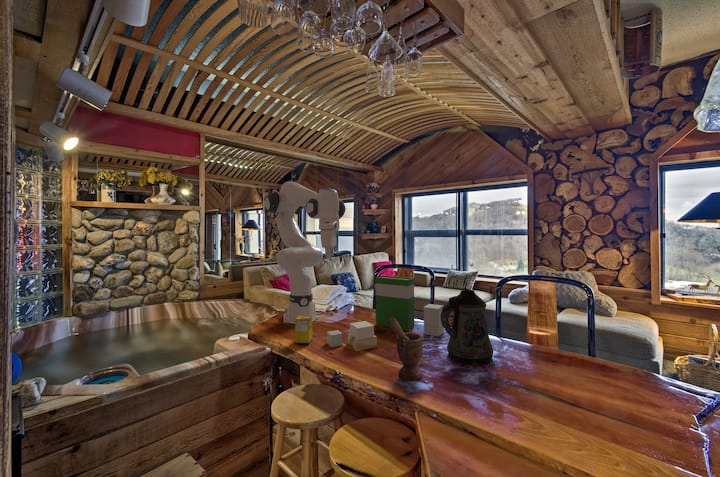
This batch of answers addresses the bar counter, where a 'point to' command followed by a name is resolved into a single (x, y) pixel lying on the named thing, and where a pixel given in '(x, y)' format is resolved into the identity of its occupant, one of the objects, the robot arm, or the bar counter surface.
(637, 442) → the bar counter surface
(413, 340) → the mortar and pestle
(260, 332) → the bar counter surface
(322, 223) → the robot arm
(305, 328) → the supplement box
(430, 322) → the supplement box
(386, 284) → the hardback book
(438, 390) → the bar counter surface
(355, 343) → the tower base
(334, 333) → the sage block
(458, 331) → the beer stein
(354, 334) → the tower top
